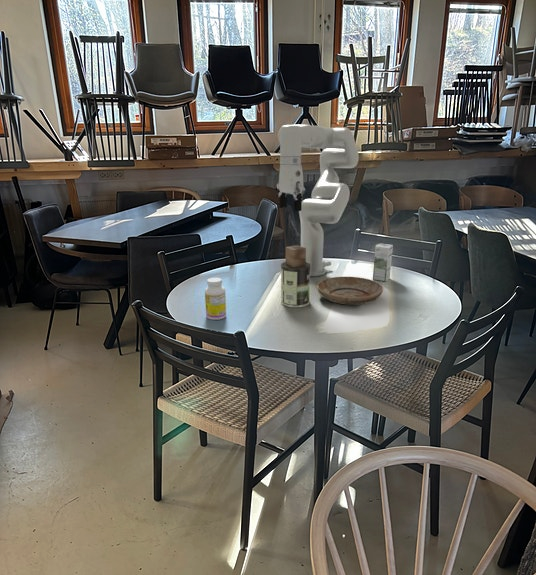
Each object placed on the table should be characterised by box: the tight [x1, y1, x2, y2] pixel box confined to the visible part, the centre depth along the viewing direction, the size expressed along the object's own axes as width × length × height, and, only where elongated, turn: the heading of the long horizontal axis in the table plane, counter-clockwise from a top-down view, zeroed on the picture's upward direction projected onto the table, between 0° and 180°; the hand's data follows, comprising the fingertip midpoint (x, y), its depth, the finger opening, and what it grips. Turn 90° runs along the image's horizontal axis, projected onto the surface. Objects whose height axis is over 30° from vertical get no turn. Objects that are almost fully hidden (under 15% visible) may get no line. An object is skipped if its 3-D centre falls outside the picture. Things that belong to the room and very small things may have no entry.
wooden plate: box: [316, 276, 384, 306], centre depth 157 cm, size 23×24×5 cm
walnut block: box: [285, 245, 306, 267], centre depth 149 cm, size 5×5×6 cm
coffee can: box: [280, 261, 311, 308], centre depth 152 cm, size 10×10×14 cm
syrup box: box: [372, 243, 394, 283], centre depth 176 cm, size 6×6×14 cm
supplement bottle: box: [204, 277, 227, 321], centre depth 141 cm, size 7×7×13 cm
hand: (290, 209), depth 161 cm, fingers open, 9 cm apart
